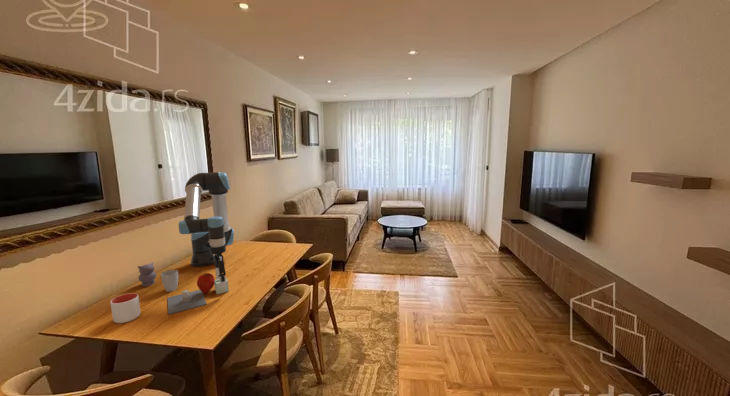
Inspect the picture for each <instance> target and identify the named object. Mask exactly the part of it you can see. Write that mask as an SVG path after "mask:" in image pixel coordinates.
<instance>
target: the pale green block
mask: <svg viewBox="0 0 730 396" xmlns="http://www.w3.org/2000/svg"><path fill="white" fill-rule="evenodd" d="M225 279H226V287H222V288H220V279H214V280H215V282H214V290H215V294H216V295H220V294H224V293H229V292H230V288H229V281H228V278H227V277H225Z"/></svg>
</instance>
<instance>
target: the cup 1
mask: <svg viewBox="0 0 730 396" xmlns="http://www.w3.org/2000/svg"><path fill="white" fill-rule="evenodd" d="M139 297H140V296H139V294H138V293H135V292H133V293H132V292H131V293H124V294H120V295H118V296H115V297H114V298H112V299H111V300H110V303H109V304H110V308H111V314H112V315H111V316H112V321H113V322H114V323H116V324H124V323H129V322H131V321H133V320H136V319H137V318H139V316H140V315H141V306H140V298H139Z"/></svg>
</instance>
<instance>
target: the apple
mask: <svg viewBox="0 0 730 396" xmlns="http://www.w3.org/2000/svg"><path fill="white" fill-rule="evenodd" d="M215 280H216V279H215V276H214V275H213V274H212V273H208V272H206V273H205V272H204V273H202V274H201V275H199V276H198V278H197V280H196V284H197V287H198V290H201V291H202V292H203V294H204V295H205V294H208V293H209V292H210V291H211V290H212V288H214V286H215V283H214V282H215Z"/></svg>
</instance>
